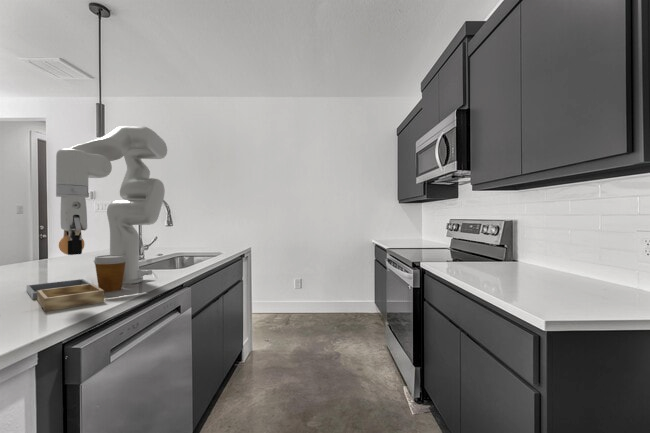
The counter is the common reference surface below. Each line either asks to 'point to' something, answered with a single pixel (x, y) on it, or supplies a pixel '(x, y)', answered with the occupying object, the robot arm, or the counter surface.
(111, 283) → the disposable coffee cup
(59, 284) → the container
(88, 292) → the tray
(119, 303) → the counter surface
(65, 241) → the ball
